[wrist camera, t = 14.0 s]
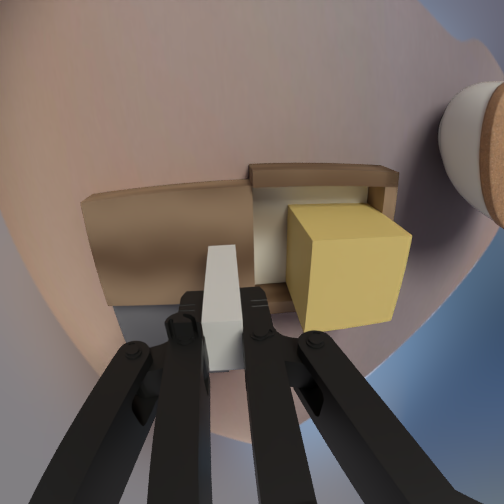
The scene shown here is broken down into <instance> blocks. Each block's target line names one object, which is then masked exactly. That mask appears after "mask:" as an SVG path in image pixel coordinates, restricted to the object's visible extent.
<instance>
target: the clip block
mask: <svg viewBox="0 0 504 504" xmlns="http://www.w3.org/2000/svg"><path fill="white" fill-rule="evenodd" d="M411 240H412V235H411V234H410V233H408V232H407V231H406V230H404V229H403V228H402V227H400V226H399V225H398V224H396V223H395V222H393V221H392V220H391V219H389V218H388V217H387V216H385V215H384V214H382V213H381V212H380V211H378V210H377V209H375V208H374V207H372V206H371V205H370V204H368V203H327V204H290V205H288V216H287V254H286V284H287V287H288V289H289V292H290V295H291V298H292V301H293V304H294V306H295V309H296V312H297V315H298V318H299V321H300V324H301V326H302V329H303V332H304V333H305V332H307V331H312V330H317V331H322V332H323V331H330V330H337V329H344V328H351V327H357V326H363V325H369V324H375V323H380V322H386V321H391V318H392V315H393V312H394V309H395V305H396V302H397V298H398V295H399V291H400V287H401V284H402V280H403V276H404V272H405V268H406V263H407V259H408V255H409V250H410V245H411Z"/></svg>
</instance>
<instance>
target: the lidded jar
mask: <svg viewBox="0 0 504 504" xmlns="http://www.w3.org/2000/svg"><path fill="white" fill-rule="evenodd" d="M438 145H439V151H440V154H441V157H442V161H443V165H444V167H445V170H446V173H447V175H448V177H449V179H450V181H451V182H452V184H453V186H454V187H455V188H456V190H457V191H458V192H459V194H460V195H461V196H462V197H463V198H464V199H465V200H466V201H467V202H468V203H469V204H470V205H471V206H472V207H474V208H475V209H476V210H478V211H479V212H480V213H482V214H483V215H485V216H487V217H488V218H490V219H491V220H493V221H494V222H495V223H496V224H497V225H499V226H500V227H502V228H503V229H504V82H503V81H490V82H482V83H477V84H474V85H471V86H469V87H466V88H465V89H463V90H462V91H460V92H459V93H458V94H456V96H455V97H454V98H453V99H452V100H451V101H450V103H449V104H448V106H447V108H446V110H445V113H444V115H443V116H442V118H441V121H440V124H439V129H438Z"/></svg>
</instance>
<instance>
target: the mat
mask: <svg viewBox="0 0 504 504" xmlns="http://www.w3.org/2000/svg"><path fill="white" fill-rule="evenodd" d="M179 306H180V305H179V304H168V305H135V306H113V308H114V311H115V314H116V317H117V320H118V323H119V325H120V328H121V331H122V333H123V336H124V339H125V341H126V343H127V342H130V341H142V342H145V343H146V344H147V345H148V346H149V347H153V346H157V345H161V344H163V343H165V342H167V341H168V336H167V332H166V328H165V324H164V322H165V321H166V319H167V318H168V317H169V316H170V315H172V314H175V313H177V312H178V310H179ZM214 372H229V370H218V371H210V369H209V373H214Z"/></svg>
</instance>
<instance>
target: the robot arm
mask: <svg viewBox="0 0 504 504" xmlns="http://www.w3.org/2000/svg"><path fill="white" fill-rule="evenodd" d="M179 305H180V306H179V310H178V312H177V313H175V314H172V315H170V316H169V317H168V318H167V319H166V321H165V322H164V324H165V328H166V332H167V336H168V341H167V342H165V343H163V344H161V345H157V346H153V347H149V346H148V345H147V344H146V343H145V342H142V341H130V342H127V343H126V344H124V345H122V346H121V347H120V348H119V350H118V351H117V353H116V354H115V356H114V357H113V359H112V360H111V362H110V363H109V365H108V366H107V368H106V370H105V371H104V373H103V374H102V376H101V377H100V379H99V381H98V382H97V384H96V385H95V387H94V388H93V390H92V392H91V393H90V395H89V396H88V398H87V400H86V401H85V403H84V404H83V406H82V408H81V409H80V411H79V413H78V414H77V416H76V418H75V419H74V421H73V423H72V425H71V426H70V428H69V430H68V431H67V433H66V435H65V436H64V438H63V440H62V442H61V443H60V445H59V447H58V449H57V450H56V452H55V454H54V456H53V458H52V459H51V461H50V463H49V465H48V467H47V469H46V471H45V472H44V474H43V476H42V478H41V480H40V482H39V484H38V486H37V488H36V490H35V492H34V494H33V496H32V498H31V500H30V502H29V504H119V501H120V499H121V497H122V494H123V492H124V489H125V487H126V484H127V482H128V480H129V477H130V475H131V473H132V470H133V468H134V465H135V463H136V461H137V458H138V456H139V454H140V451H141V449H142V447H143V444H144V442H145V440H146V437H147V435H148V433H149V430H150V428H151V426H152V423H153V421H154V419H155V417H156V420H155V427H154V436H153V444H152V453H151V462H150V473H149V485H148V498H147V504H212V483H211V447H210V445H211V444H210V377H209V369H210V371H218V370H237V369H245V382H246V391H247V401H248V411H249V421H250V431H251V440H252V448H253V458H254V467H255V476H256V484H257V492H258V501H259V504H317V501H316V497H315V493H314V488H313V484H312V479H311V475H310V471H309V466H308V462H307V457H306V453H305V449H304V444H303V440H302V436H301V432H300V427H299V423H298V418H297V414H296V410H295V405H294V401H293V397H292V392H291V388H290V387H293V388H294V390H295V392H296V394H297V395H298V397H299V399H300V400H301V402H302V404H303V405H304V407H305V409H306V411H307V412H308V414H309V416H310V417H311V419H312V420H313V422H314V424H315V425H316V427H317V429H318V430H319V432H320V434H321V435H322V437H323V439H324V440H325V442H326V443H327V445H328V447H329V448H330V450H331V452H332V453H333V455H334V456H335V458H336V460H337V461H338V463H339V464H340V466H341V468H342V469H343V471H344V472H345V474H346V476H347V477H348V478H349V480H350V482H351V483H352V485H353V486H354V488H355V490H356V491H357V493H358V494H359V496H360V497H361V499H362V500H363V502H364V503H365V504H482V503H480V502H478V501H476V500H474V499H472V498H470V497H468V496H466V495H464V494H462V493H460V492H458V491H456V490H455V489H454V488H453V487H452V486H451V484H450V483H449V482H448V481H447V479H446V478H445V477H444V476H443V474H442V473H441V472H440V471H439V469H438V468H437V467H436V466H435V464H434V463H433V462H432V461H431V459H430V458H429V457H428V456H427V454H426V453H425V452H424V451H423V450H422V448H421V447H420V446H419V445H418V443H417V442H416V441H415V440H414V438H413V437H412V436H411V435H410V433H409V432H408V431H407V430H406V429H405V427H404V426H403V425H402V423H401V422H400V421H399V420H398V419H397V418H396V416H395V415H394V414H393V412H392V411H391V410H390V409H389V408H388V406H387V405H386V404H385V403H384V401H383V400H382V399H381V398H380V396H379V395H378V394H377V393H376V392H375V391H374V389H373V388H372V387H371V385H370V384H369V383H368V382H367V381H366V379H365V378H364V377H363V376H362V374H361V373H360V372H359V371H358V370H357V368H356V367H355V366H354V365H353V363H352V362H351V361H350V360H349V359H348V357H347V356H346V355H345V354H344V353H343V351H342V350H341V349H340V348H339V346H338V345H337V344H336V343H335V342H334V340H333V339H332V338H331V337H330V336H329V335H328V334H327V333H324V332H322V331H317V330H312V331H307V332H305V333H302V334H301V336H300V337H299V338H291V337H286V336H283V335H281V334H279V333H278V332H277V331H276V329H274V327H273V323H272V319H271V314H270V310H269V306H268V301H267V297H266V293H265V291H264V290H263V289H262V288H261V287H260V286H258V287H242V288H239V279H238V268H237V258H236V247H235V245H218V246H208V255H207V265H206V275H205V286H204V290H202V291H186V292H185V293H184V294H183V296H182V297H181V299H180V304H179Z"/></svg>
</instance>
